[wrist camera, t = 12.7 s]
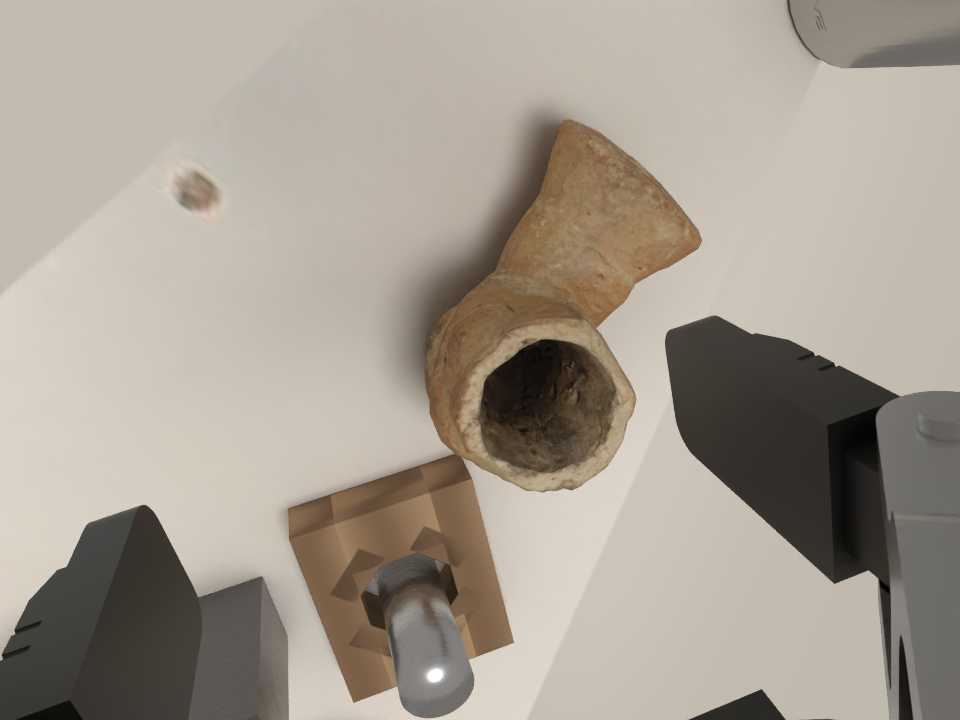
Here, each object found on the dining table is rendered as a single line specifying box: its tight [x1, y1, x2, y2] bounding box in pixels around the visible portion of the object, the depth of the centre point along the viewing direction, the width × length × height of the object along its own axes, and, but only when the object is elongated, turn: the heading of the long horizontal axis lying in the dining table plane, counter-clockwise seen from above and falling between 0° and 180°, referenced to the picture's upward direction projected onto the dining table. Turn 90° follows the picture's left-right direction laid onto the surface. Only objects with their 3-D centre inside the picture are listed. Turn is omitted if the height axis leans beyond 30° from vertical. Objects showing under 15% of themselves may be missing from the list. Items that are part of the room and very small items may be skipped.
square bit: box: [188, 577, 289, 720], centre depth 37 cm, size 5×5×10 cm
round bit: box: [375, 552, 474, 718], centre depth 38 cm, size 4×4×10 cm
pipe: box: [425, 120, 702, 492], centre depth 34 cm, size 9×16×10 cm, turn 147°
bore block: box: [289, 454, 514, 703], centre depth 42 cm, size 10×12×3 cm
